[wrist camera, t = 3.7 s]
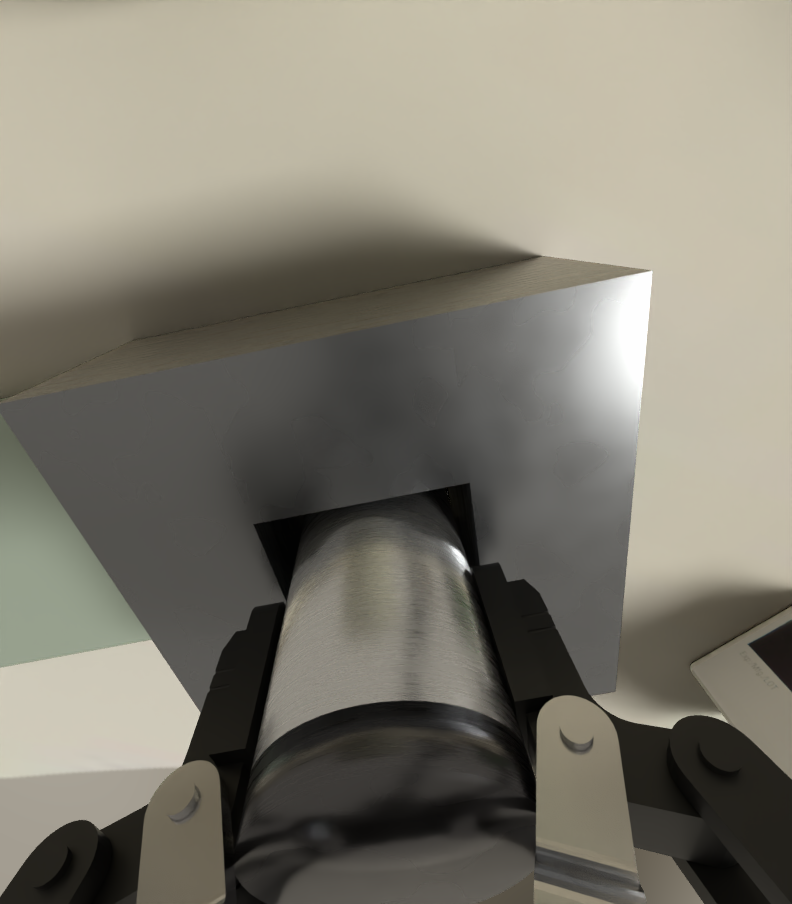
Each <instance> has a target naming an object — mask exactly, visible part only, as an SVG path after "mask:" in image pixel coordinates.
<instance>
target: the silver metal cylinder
mask: <svg viewBox="0 0 792 904" xmlns="http://www.w3.org/2000/svg"><path fill="white" fill-rule="evenodd" d="M535 856H536V778H535V775H534V772H533V769H532V765H531V762H530V759H529V756H528V753H527V749H526V746H525V743H524V740H523V737H522V733H521V730H520V727H519V725H518V723H517V720H516V717H515V714H514V711H513V707H512V704H511V701H510V698H509V695H508V691H507V688H506V685H505V682H504V678H503V675H502V672H501V669H500V666H499V662H498V659H497V656H496V653H495V649H494V646H493V643H492V640H491V637H490V633H489V630H488V627H487V624H486V620H485V617H484V614H483V611H482V608H481V604H480V601H479V598H478V595H477V591H476V588H475V585H474V582H473V579H472V575H471V570H470V567H469V564H468V561H467V558H466V554H465V551H464V548H463V545H462V542H461V538H460V535H459V532H458V529H457V526H456V522H455V519H454V516H453V513H452V510H451V506H450V503H449V500H448V497H447V494H446V490H445V488H440V489H434V490H429V491H424V492H419V493H414V494H408V495H403V496H398V497H393V498H388V499H382V500H377V501H372V502H367V503H361V504H356V505H351V506H346V507H341V508H335V509H330V510H325V511H320V512H315V513H309V514H305V518H304V523H303V528H302V533H301V537H300V542H299V547H298V552H297V556H296V561H295V566H294V570H293V575H292V580H291V585H290V589H289V594H288V599H287V604H286V608H285V613H284V618H283V623H282V627H281V632H280V637H279V641H278V646H277V651H276V656H275V660H274V665H273V670H272V675H271V679H270V684H269V689H268V694H267V698H266V703H265V708H264V712H263V717H262V722H261V727H260V731H259V736H258V741H257V746H256V750H255V755H254V760H253V765H252V769H251V774H250V779H249V783H248V788H247V793H246V798H245V802H244V807H243V812H242V817H241V821H240V826H239V831H238V836H237V840H236V845H235V850H234V855H233V864H234V866H235V875H236V877H237V879H238V880H239V882H240V883H241V885H242V886H243V887H244V888H245V889H246V890H247V891H248V892H249V893H250V894H251V895H253V896H254V897H256V898H257V899H259V900H260V901H262V902H264V903H267V904H476V903H478V902H481V901H484V900H486V899H488V898H490V897H493V896H495V895H497V894H499V893H501V892H503V891H505V890H507V889H509V888H510V887H512V886H514V885H515V884H516V883H518V882H520V881H521V880H522V879H524V878H525V877H526V876H528V875H529V874H530V873H531V872H532V871H533V870H534V869H535Z"/></svg>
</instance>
